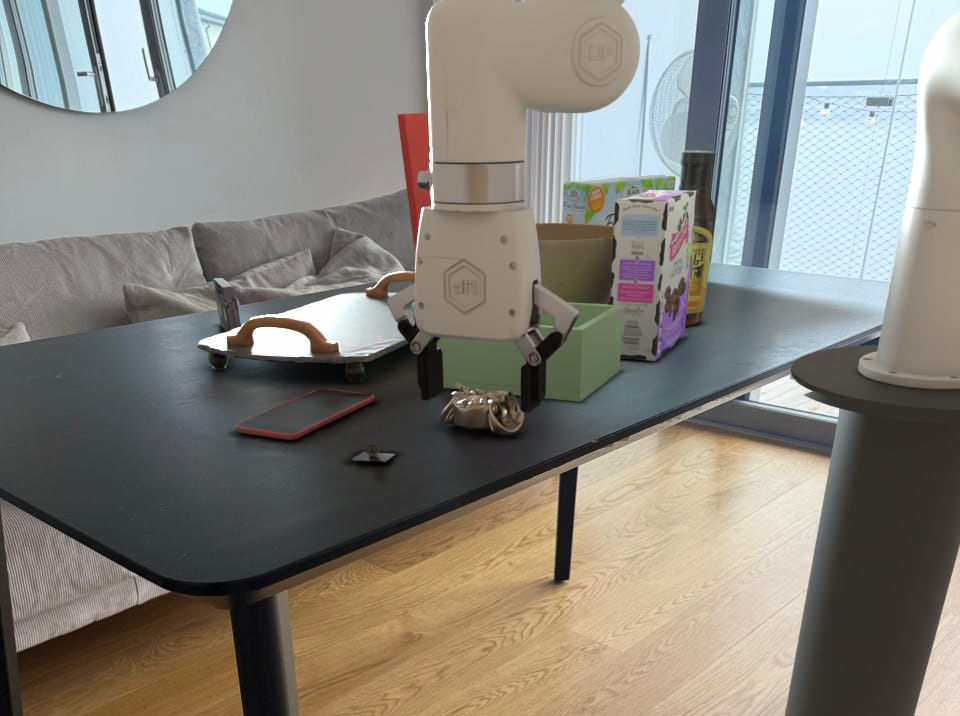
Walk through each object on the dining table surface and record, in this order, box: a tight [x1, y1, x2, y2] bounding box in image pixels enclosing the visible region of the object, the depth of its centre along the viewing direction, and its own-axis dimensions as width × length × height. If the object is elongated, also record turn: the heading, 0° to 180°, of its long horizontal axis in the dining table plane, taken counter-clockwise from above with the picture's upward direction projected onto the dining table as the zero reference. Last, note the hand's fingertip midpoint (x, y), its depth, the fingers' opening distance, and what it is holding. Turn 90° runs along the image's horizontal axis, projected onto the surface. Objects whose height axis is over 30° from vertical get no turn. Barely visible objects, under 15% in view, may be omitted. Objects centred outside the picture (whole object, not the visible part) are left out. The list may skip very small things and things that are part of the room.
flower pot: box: [535, 222, 614, 305], centre depth 111 cm, size 18×18×12 cm
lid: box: [396, 112, 432, 259], centre depth 91 cm, size 17×13×1 cm
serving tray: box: [196, 270, 415, 384], centre depth 110 cm, size 39×23×6 cm, turn 156°
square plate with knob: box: [351, 442, 396, 463], centre depth 75 cm, size 3×3×1 cm
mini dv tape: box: [212, 277, 242, 332], centre depth 120 cm, size 8×2×6 cm, turn 23°
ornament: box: [439, 384, 525, 436], centre depth 81 cm, size 8×7×4 cm
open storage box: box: [437, 302, 623, 403], centre depth 94 cm, size 17×13×7 cm
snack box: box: [561, 174, 677, 226], centre depth 144 cm, size 21×6×15 cm, turn 132°
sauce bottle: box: [677, 150, 717, 327], centre depth 114 cm, size 6×6×20 cm
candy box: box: [610, 189, 696, 362], centre depth 103 cm, size 14×6×16 cm, turn 155°
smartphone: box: [234, 388, 375, 441], centre depth 86 cm, size 7×1×14 cm
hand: (480, 402), depth 80 cm, fingers open, 9 cm apart
